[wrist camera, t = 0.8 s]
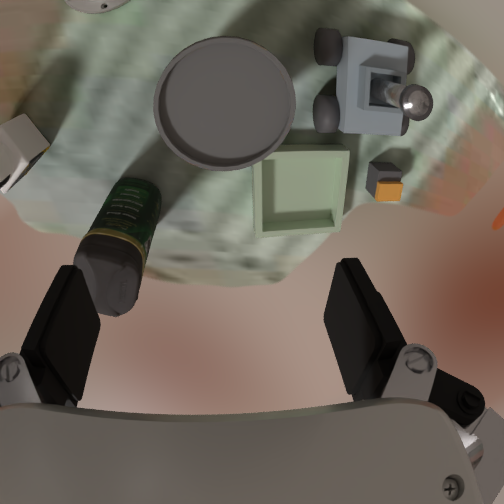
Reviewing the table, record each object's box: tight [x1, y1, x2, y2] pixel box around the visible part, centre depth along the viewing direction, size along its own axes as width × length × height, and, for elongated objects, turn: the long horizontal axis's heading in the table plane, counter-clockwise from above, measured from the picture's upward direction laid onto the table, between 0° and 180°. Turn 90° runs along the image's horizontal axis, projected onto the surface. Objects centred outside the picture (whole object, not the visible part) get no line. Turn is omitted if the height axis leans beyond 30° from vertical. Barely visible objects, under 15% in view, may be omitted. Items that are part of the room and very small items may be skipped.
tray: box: [252, 144, 350, 238], centre depth 45 cm, size 13×13×3 cm
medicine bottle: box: [0, 113, 50, 193], centre depth 32 cm, size 7×7×12 cm
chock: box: [366, 162, 403, 201], centre depth 44 cm, size 4×4×4 cm
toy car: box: [313, 28, 415, 136], centre depth 34 cm, size 14×12×8 cm
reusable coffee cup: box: [153, 36, 296, 171], centre depth 31 cm, size 13×13×15 cm
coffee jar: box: [73, 178, 161, 317], centre depth 38 cm, size 10×8×19 cm
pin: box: [370, 78, 433, 121], centre depth 28 cm, size 4×4×9 cm
